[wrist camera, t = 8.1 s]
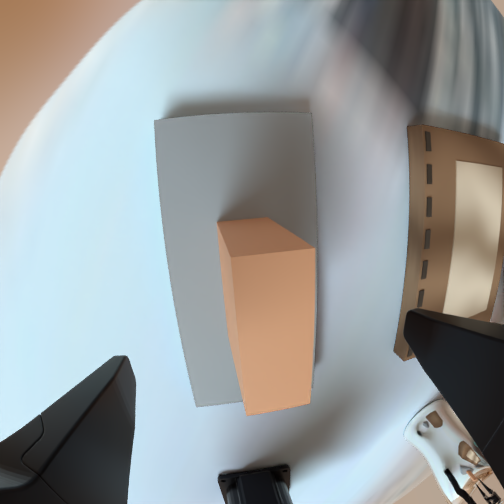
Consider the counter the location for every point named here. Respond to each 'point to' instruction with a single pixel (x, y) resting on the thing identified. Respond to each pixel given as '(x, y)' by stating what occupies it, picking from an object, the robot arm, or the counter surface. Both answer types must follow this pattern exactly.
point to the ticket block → (452, 226)
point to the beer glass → (453, 456)
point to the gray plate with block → (242, 253)
